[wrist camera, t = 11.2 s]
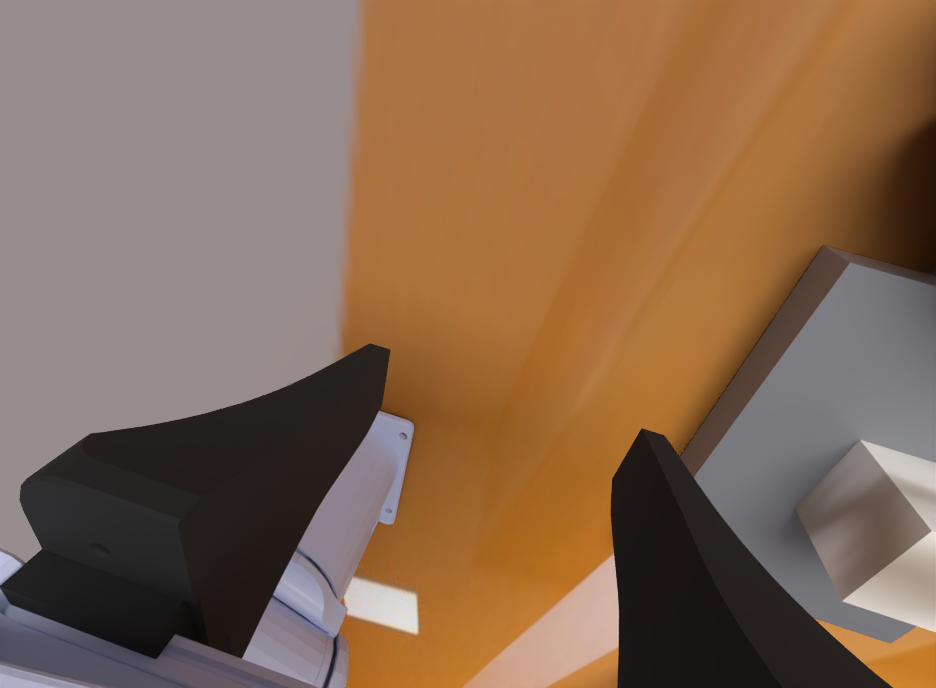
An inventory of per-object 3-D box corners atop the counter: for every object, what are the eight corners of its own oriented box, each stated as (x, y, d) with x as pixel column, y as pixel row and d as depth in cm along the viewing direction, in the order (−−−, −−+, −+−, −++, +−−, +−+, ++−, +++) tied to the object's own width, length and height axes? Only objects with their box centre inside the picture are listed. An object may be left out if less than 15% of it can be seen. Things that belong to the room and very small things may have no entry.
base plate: (869, 606, 26) (890, 643, 24) (631, 528, 27) (634, 558, 25) (1213, 353, 16) (1288, 384, 14) (823, 244, 17) (850, 262, 15)
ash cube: (892, 538, 21) (962, 641, 17) (794, 507, 21) (842, 601, 17) (971, 473, 18) (1073, 576, 14) (860, 439, 19) (931, 530, 15)
